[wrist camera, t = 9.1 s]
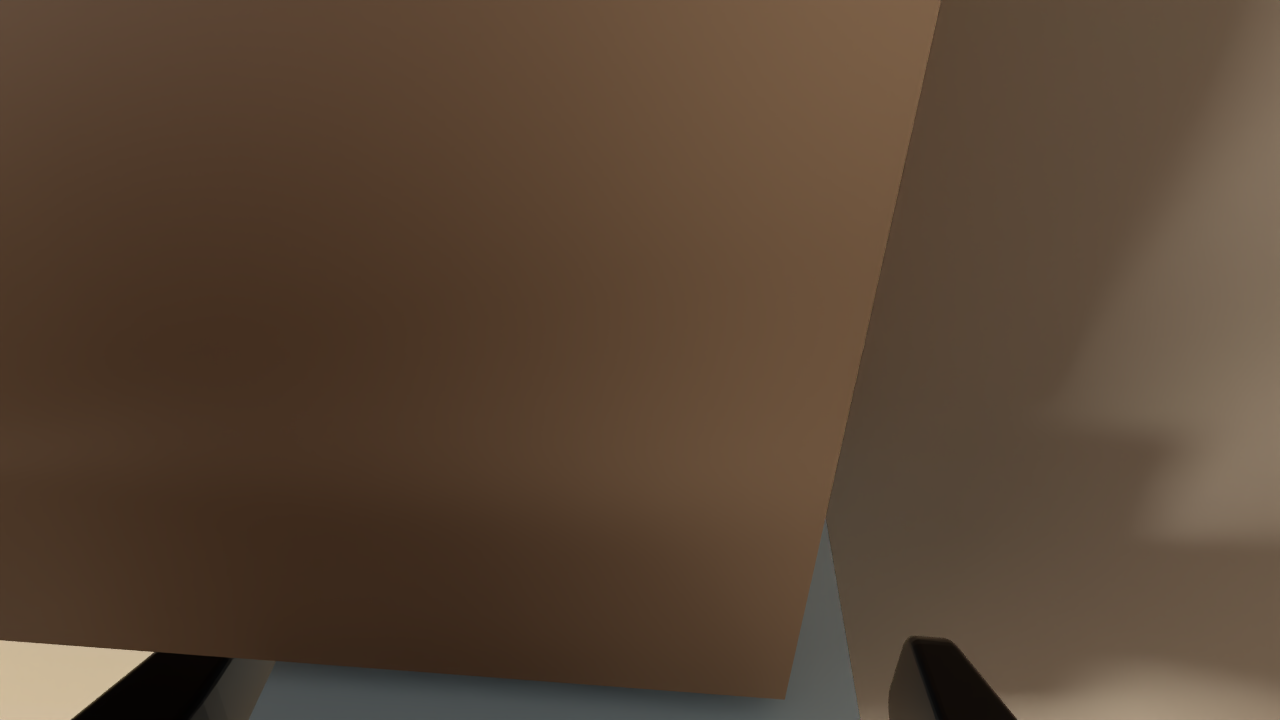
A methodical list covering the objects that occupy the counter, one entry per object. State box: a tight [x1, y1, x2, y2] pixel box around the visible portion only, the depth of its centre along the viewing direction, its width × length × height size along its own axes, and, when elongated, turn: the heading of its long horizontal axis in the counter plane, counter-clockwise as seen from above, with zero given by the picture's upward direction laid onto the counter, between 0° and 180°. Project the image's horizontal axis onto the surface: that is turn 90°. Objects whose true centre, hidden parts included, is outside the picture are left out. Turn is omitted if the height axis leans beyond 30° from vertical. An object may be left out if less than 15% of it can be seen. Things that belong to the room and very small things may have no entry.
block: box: [249, 518, 860, 720], centre depth 8 cm, size 4×4×4 cm
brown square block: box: [0, 0, 941, 700], centre depth 6 cm, size 6×6×4 cm
